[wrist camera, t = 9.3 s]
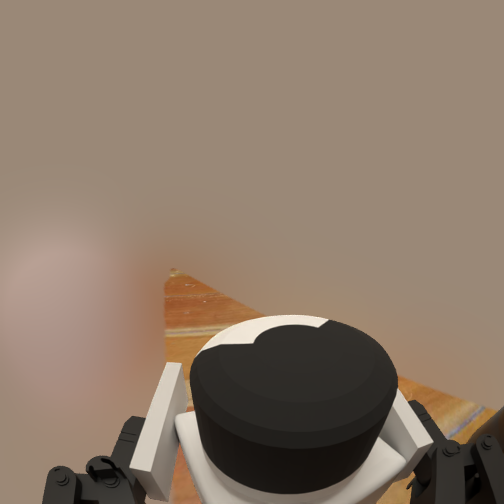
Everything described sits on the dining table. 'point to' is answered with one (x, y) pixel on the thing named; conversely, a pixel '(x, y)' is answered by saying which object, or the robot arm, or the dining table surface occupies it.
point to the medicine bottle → (290, 415)
